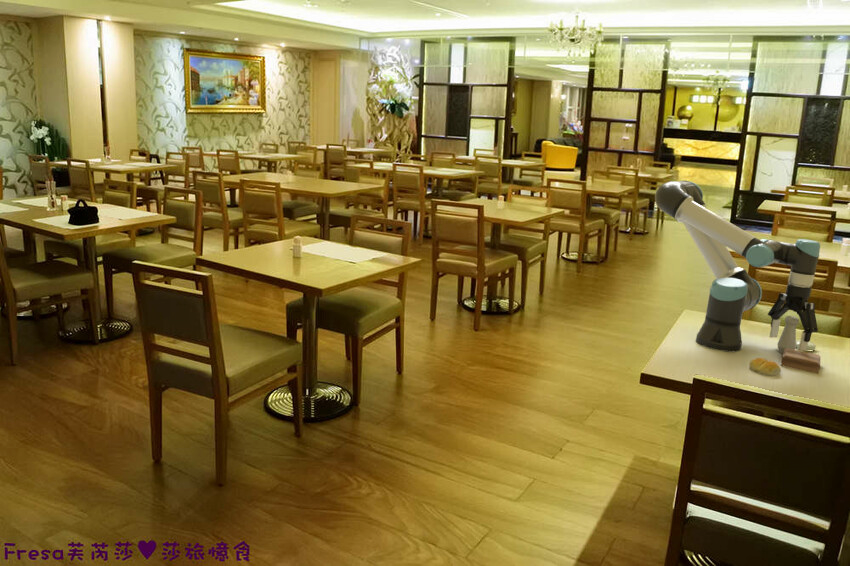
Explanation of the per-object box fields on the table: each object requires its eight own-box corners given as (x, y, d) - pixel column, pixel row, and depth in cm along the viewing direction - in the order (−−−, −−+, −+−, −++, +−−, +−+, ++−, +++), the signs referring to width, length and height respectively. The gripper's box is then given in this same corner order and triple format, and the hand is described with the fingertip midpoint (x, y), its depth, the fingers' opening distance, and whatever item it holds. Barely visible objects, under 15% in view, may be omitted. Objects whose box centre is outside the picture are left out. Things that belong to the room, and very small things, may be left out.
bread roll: (758, 365, 231) (761, 353, 230) (783, 375, 224) (786, 363, 223) (742, 368, 227) (745, 356, 226) (767, 378, 220) (770, 366, 219)
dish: (803, 352, 250) (804, 346, 249) (788, 345, 256) (789, 340, 256) (819, 351, 252) (820, 346, 251) (803, 345, 258) (805, 340, 258)
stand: (818, 373, 227) (820, 363, 226) (780, 365, 232) (783, 355, 231) (818, 364, 236) (820, 354, 236) (782, 356, 241) (784, 347, 241)
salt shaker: (795, 352, 248) (802, 317, 245) (793, 356, 243) (801, 320, 240) (777, 348, 251) (784, 313, 248) (775, 352, 246) (782, 316, 243)
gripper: (838, 294, 230) (824, 355, 235) (781, 276, 254) (770, 332, 259) (819, 294, 228) (806, 355, 233) (764, 275, 251) (753, 332, 256)
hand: (787, 343), depth 246 cm, fingers open, 13 cm apart
